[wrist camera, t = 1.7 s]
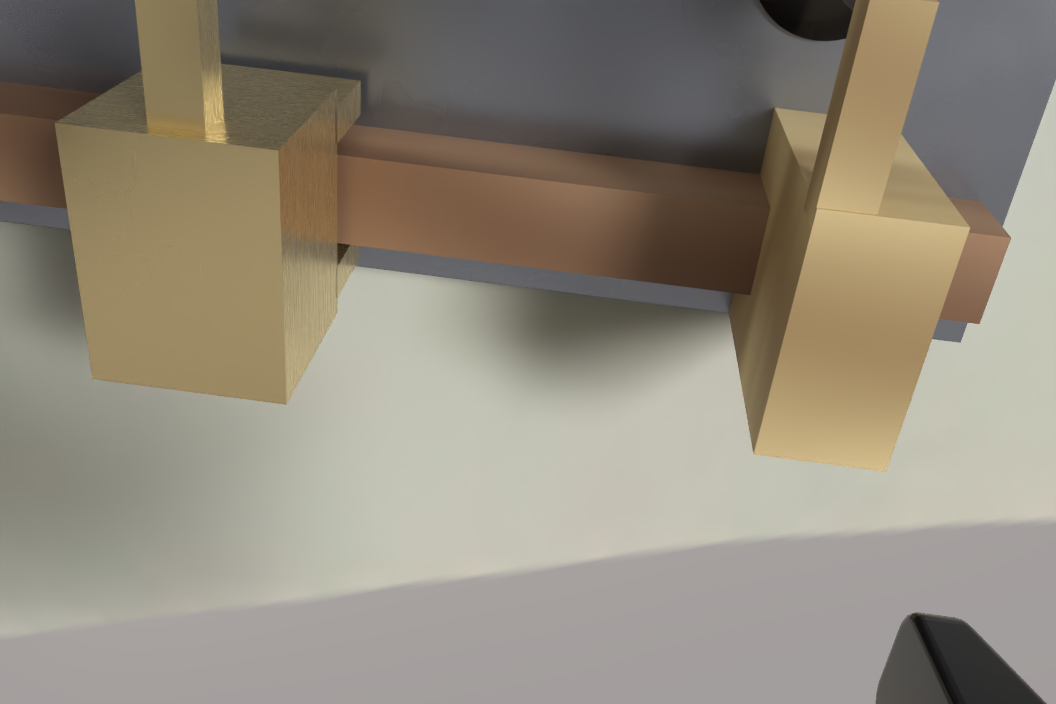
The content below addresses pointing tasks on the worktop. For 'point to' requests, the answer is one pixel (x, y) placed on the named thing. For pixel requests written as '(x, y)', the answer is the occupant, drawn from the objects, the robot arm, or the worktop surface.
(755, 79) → the plate
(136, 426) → the worktop surface
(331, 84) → the slider
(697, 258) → the beam
